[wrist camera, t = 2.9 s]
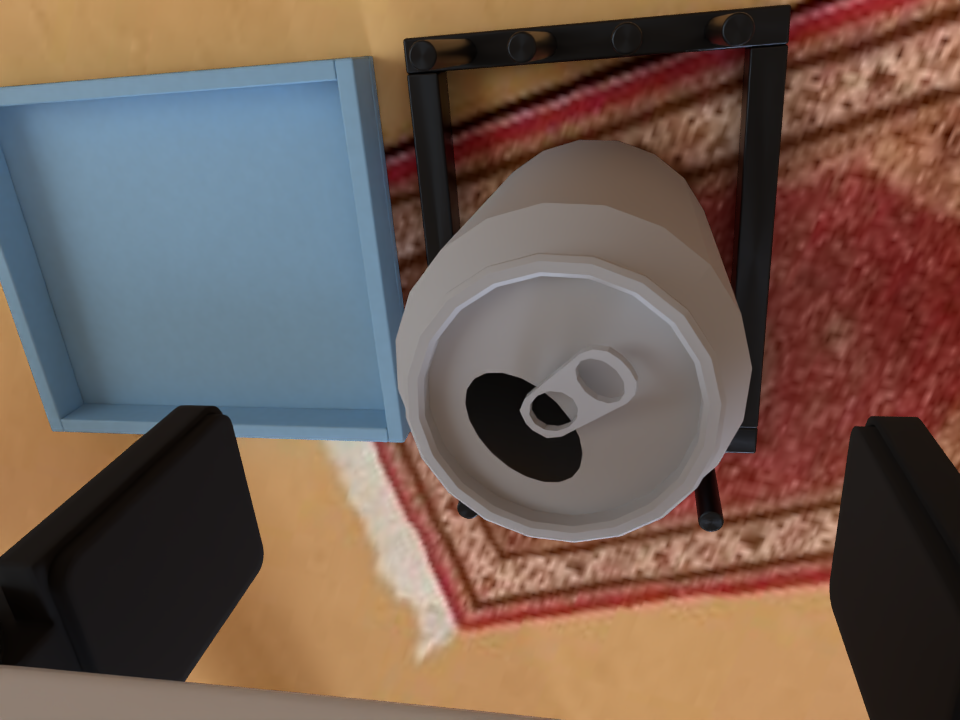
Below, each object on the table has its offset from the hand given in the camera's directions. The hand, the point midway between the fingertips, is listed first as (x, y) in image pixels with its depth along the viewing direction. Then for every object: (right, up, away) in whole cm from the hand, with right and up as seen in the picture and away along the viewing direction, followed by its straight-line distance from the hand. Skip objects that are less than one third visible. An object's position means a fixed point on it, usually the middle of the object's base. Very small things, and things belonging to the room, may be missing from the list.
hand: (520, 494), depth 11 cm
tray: (-11, +6, +17) cm, 21 cm away
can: (+3, +6, +14) cm, 15 cm away
